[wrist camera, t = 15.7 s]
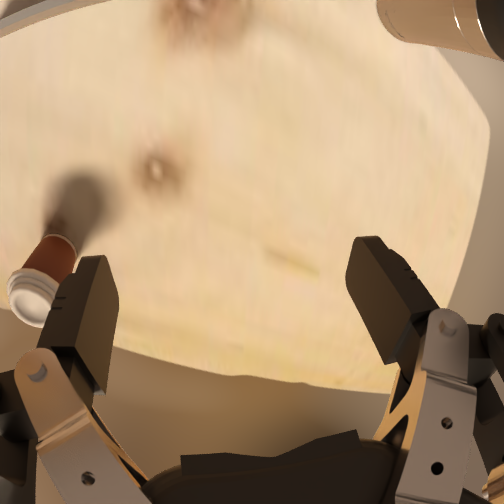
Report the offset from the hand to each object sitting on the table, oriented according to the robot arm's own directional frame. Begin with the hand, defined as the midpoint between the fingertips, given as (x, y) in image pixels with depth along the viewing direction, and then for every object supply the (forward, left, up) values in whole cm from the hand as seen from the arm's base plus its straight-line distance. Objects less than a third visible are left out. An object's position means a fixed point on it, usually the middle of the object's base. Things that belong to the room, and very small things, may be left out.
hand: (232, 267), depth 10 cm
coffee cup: (+30, -2, -30) cm, 42 cm away
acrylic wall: (+3, -22, -30) cm, 37 cm away
